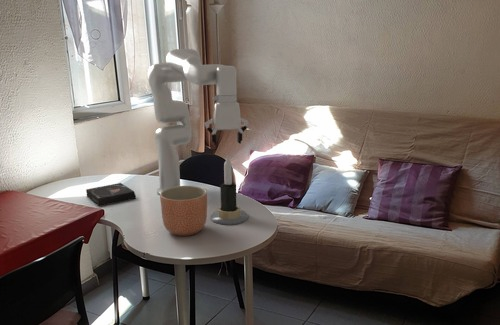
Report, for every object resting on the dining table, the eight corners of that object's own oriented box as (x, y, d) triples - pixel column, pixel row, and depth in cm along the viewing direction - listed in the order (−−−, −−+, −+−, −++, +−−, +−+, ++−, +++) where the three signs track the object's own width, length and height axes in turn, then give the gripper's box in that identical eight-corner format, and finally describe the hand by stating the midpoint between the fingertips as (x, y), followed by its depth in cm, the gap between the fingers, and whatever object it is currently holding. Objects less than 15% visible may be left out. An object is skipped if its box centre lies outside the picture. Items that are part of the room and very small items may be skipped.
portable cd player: (136, 199, 203) (135, 191, 202) (98, 207, 194) (98, 198, 193) (122, 190, 216) (121, 182, 215) (87, 197, 206) (86, 189, 205)
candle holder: (208, 212, 185) (207, 203, 184) (243, 209, 188) (243, 200, 187) (213, 226, 171) (213, 216, 170) (251, 222, 174) (251, 213, 173)
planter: (168, 243, 157) (166, 203, 153) (158, 226, 172) (155, 189, 168) (214, 235, 163) (213, 196, 159) (200, 219, 178) (199, 183, 174)
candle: (229, 211, 183) (228, 152, 177) (237, 215, 180) (236, 155, 173) (220, 215, 180) (218, 155, 173) (228, 218, 176) (227, 157, 170)
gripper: (205, 101, 162) (206, 146, 167) (251, 100, 166) (251, 144, 171) (202, 98, 169) (203, 142, 174) (246, 97, 173) (246, 140, 178)
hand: (227, 143), depth 172 cm, fingers open, 9 cm apart
